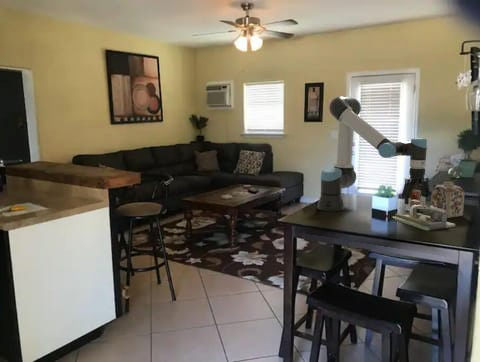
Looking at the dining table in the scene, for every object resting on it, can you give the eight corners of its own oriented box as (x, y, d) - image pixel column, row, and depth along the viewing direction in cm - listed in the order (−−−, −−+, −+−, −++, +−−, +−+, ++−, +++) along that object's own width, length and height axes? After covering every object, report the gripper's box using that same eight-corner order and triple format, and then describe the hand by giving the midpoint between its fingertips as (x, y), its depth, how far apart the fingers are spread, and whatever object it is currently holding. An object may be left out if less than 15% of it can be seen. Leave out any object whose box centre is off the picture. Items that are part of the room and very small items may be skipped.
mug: (402, 206, 231) (403, 189, 230) (417, 206, 230) (418, 189, 228) (407, 210, 220) (408, 193, 218) (423, 211, 218) (424, 193, 216)
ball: (417, 221, 193) (417, 214, 193) (422, 220, 194) (422, 214, 194) (422, 222, 190) (422, 216, 190) (427, 222, 191) (427, 215, 191)
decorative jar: (447, 218, 202) (450, 184, 199) (429, 213, 213) (431, 181, 210) (463, 215, 207) (466, 182, 204) (445, 211, 217) (447, 179, 215)
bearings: (430, 222, 195) (430, 211, 194) (434, 221, 196) (435, 211, 195) (441, 226, 188) (442, 215, 187) (446, 225, 189) (447, 214, 188)
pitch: (392, 218, 203) (392, 213, 202) (418, 215, 209) (419, 210, 208) (426, 230, 181) (426, 225, 181) (455, 226, 187) (455, 221, 187)
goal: (419, 226, 188) (420, 220, 187) (435, 224, 191) (436, 218, 190) (429, 230, 182) (430, 223, 182) (445, 227, 185) (446, 221, 185)
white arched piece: (398, 214, 206) (399, 201, 205) (413, 212, 209) (414, 199, 208) (430, 224, 186) (431, 209, 185) (445, 222, 190) (447, 207, 188)
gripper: (405, 169, 195) (403, 212, 199) (439, 167, 202) (436, 208, 206) (395, 168, 202) (393, 209, 206) (428, 165, 209) (425, 206, 213)
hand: (414, 209), depth 206 cm, fingers open, 9 cm apart
